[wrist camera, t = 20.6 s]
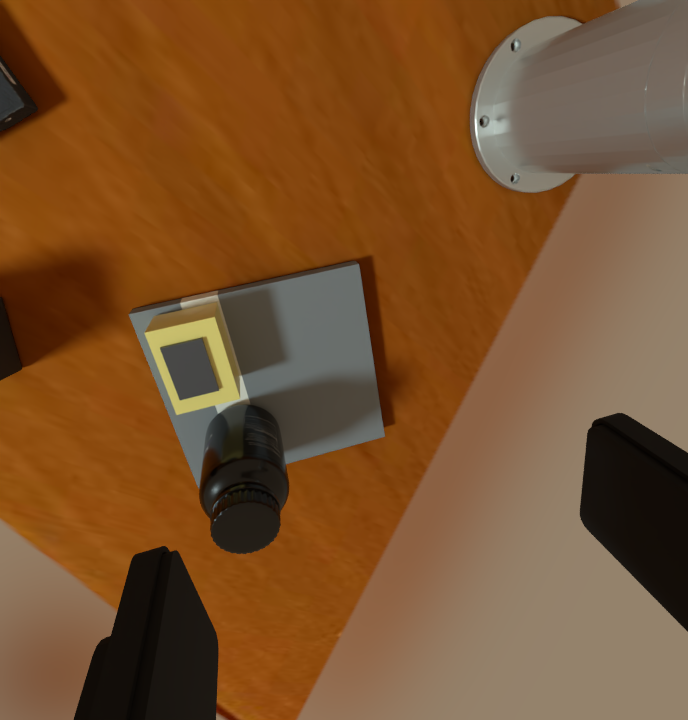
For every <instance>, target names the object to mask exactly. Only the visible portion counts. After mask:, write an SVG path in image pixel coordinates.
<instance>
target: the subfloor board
mask: <svg viewBox="0 0 688 720" xmlns="http://www.w3.org/2000/svg"><path fill="white" fill-rule="evenodd" d="M216 302H217V304H218V307H219V310H220V314H221V317H222V320H223V323H224V327H225V330H226V333H227V337H228V340H229V343H230V347H231V350H232V353H233V356H234V360H235V363H236V366H237V370H238V373H239V376H240V399H238V400H234V401H230V402H226V403H222V404H218V405H215V406H211V407H207V408H203V409H199V410H195V411H191V412H187V413H183V414H179V415H176V412H175V410H174V407H173V405H172V402H171V400H170V397H169V395H168V392H167V389H166V387H165V384H164V382H163V379H162V377H161V374H160V372H159V369H158V367H157V364H156V361H155V359H154V356H153V354H152V351H151V349H150V346H149V344H148V341H147V339H146V336H145V333H144V332H145V331H146V329H147V327H148V326H149V324H150V322H151V320H152V319H153V317H154V316H157V315H161V314H166V313H170V312H175V311H179V310H184V309H188V308H193V307H197V306H202V305H206V304H211V303H216ZM129 316H130V319H131V321H132V324H133V326H134V329H135V331H136V334H137V336H138V339H139V341H140V344H141V346H142V349H143V351H144V354H145V356H146V359H147V361H148V364H149V366H150V369H151V371H152V374H153V376H154V379H155V381H156V384H157V386H158V389H159V391H160V394H161V396H162V399H163V401H164V404H165V406H166V409H167V411H168V414H169V416H170V419H171V421H172V424H173V426H174V429H175V431H176V434H177V436H178V438H179V441H180V443H181V446H182V448H183V451H184V453H185V456H186V458H187V461H188V463H189V466H190V468H191V471H192V473H193V476H194V478H195V481H196V483H197V486H198V488H200V479H201V470H202V461H203V453H204V444H205V437H206V432H207V428H208V426H209V424H210V422H211V421H212V419H213V418H214V417H215V416H216V415H217V414H218V413H220V412H221V411H223V410H225V409H227V408H229V407H232V406H235V405H242V404H248V405H255V406H258V407H261V408H263V409H265V410H267V411H268V412H269V413H271V414H272V415H273V416H274V418H275V419H276V421H277V422H278V425H279V428H280V432H281V437H282V443H283V449H284V455H285V461H286V464H288V463H291V462H295V461H299V460H302V459H306V458H309V457H313V456H317V455H320V454H324V453H327V452H331V451H335V450H338V449H342V448H345V447H349V446H352V445H356V444H360V443H363V442H367V441H370V440H374V439H378V438H381V437H385V434H384V428H383V421H382V414H381V408H380V401H379V394H378V388H377V381H376V374H375V368H374V361H373V354H372V347H371V341H370V334H369V327H368V321H367V314H366V307H365V301H364V294H363V287H362V281H361V274H360V267H359V263H357V262H356V261H351V262H346V263H342V264H337V265H332V266H328V267H323V268H319V269H314V270H309V271H305V272H300V273H296V274H291V275H286V276H282V277H277V278H273V279H268V280H264V281H259V282H254V283H250V284H245V285H241V286H236V287H231V288H227V289H222V290H218V291H213V292H208V293H204V294H199V295H195V296H190V297H185V298H181V299H176V300H172V301H167V302H162V303H158V304H153V305H149V306H144V307H140V308H135V309H132V311H131V312H130V313H129Z"/></svg>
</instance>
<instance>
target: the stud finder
mask: <svg viewBox="0 0 688 720" xmlns="http://www.w3.org/2000/svg"><path fill="white" fill-rule="evenodd" d="M144 333H145V336H146V339H147V341H148V344H149V346H150V349H151V351H152V354H153V356H154V359H155V361H156V364H157V367H158V369H159V372H160V374H161V377H162V379H163V382H164V384H165V387H166V389H167V392H168V395H169V397H170V400H171V402H172V405H173V407H174V410H175V412H176V415H179V414H183V413H187V412H191V411H195V410H199V409H203V408H207V407H211V406H215V405H218V404H222V403H226V402H230V401H234V400H238V399H240V376H239V373H238V370H237V366H236V363H235V360H234V356H233V353H232V350H231V347H230V343H229V340H228V337H227V333H226V330H225V327H224V323H223V320H222V317H221V314H220V310H219V307H218V304H217V302H216V303H211V304H206V305H202V306H197V307H193V308H188V309H184V310H179V311H175V312H170V313H166V314H161V315H157V316H154V317H153V319H152V320H151V322H150V324H149V326H148V327H147V329H146V331H145V332H144Z"/></svg>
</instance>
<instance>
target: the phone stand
mask: <svg viewBox="0 0 688 720" xmlns="http://www.w3.org/2000/svg"><path fill="white" fill-rule="evenodd" d="M20 370H22V367H21V363H20V359H19V356H18V352H17V349H16V345H15V342H14V338H13V335H12V331H11V328H10V324H9V321H8V317H7V313H6V310H5V306H4V303H3V299H2V297H0V380H2V379H4V378H6V377H8V376H10V375H12V374H14V373H16V372H18V371H20Z"/></svg>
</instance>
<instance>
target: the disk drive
mask: <svg viewBox="0 0 688 720" xmlns="http://www.w3.org/2000/svg"><path fill="white" fill-rule="evenodd" d="M37 110H38V107H37V106H36V104H35V103H34V102H33V100H32V99H31V98H30V96H29V95H28V93H27V92H26V91H25V90H24V88H23V86H22V85H21V84H20V83H19V81H18V80H17V78H16V77H15V75H14V74H13V72H12V71H11V70H10V69H9V67H8V65H7V64H6V63H5V62H4V60H3V59H2V57H1V56H0V131H2V130H6V129H7V128H9V127H11V126H13V125H15V124H16V123H18V122H20V121H22V119H23V118H25V117H28V116H29V115H31V113H35V112H36V111H37Z"/></svg>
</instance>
